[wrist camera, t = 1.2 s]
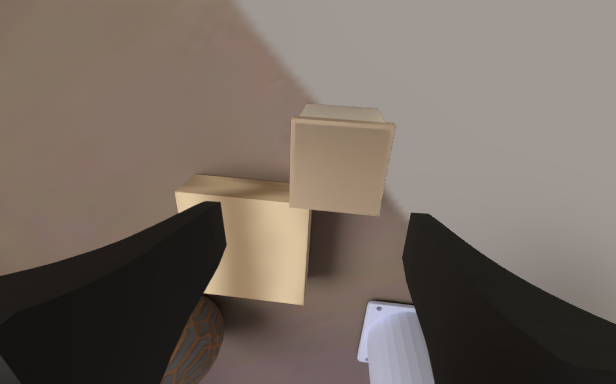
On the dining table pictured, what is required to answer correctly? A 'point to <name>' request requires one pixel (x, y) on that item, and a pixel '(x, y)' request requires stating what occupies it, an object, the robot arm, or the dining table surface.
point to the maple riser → (255, 237)
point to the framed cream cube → (339, 159)
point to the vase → (196, 345)
